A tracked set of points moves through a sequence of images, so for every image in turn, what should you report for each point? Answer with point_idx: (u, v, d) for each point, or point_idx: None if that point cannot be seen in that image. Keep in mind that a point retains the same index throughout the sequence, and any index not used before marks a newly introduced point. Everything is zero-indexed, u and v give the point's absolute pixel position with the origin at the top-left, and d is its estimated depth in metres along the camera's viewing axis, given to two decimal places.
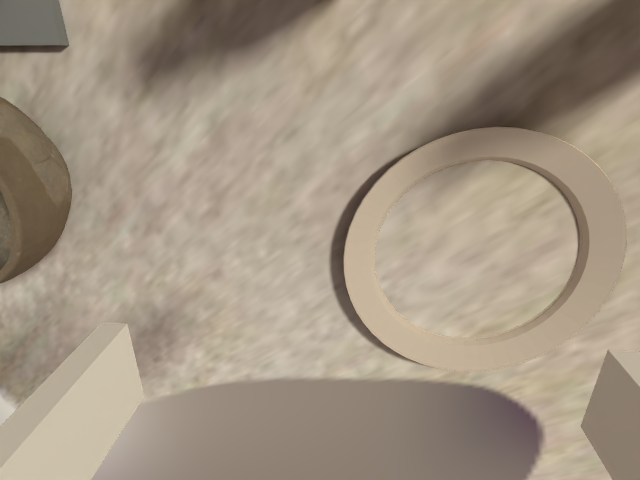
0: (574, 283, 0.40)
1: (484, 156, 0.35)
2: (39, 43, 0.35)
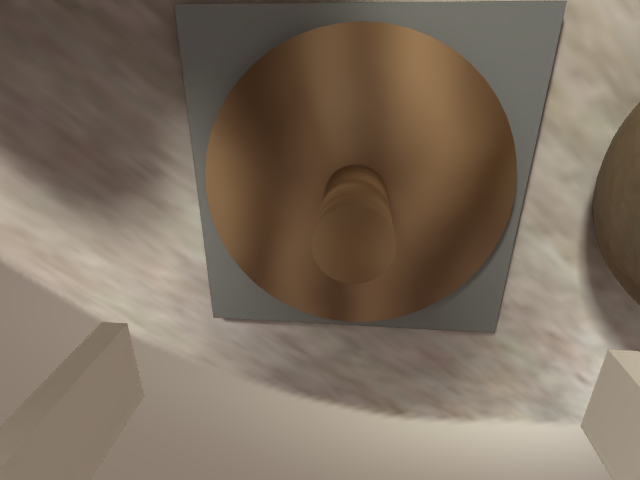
0: None
1: None
2: (555, 40, 0.23)
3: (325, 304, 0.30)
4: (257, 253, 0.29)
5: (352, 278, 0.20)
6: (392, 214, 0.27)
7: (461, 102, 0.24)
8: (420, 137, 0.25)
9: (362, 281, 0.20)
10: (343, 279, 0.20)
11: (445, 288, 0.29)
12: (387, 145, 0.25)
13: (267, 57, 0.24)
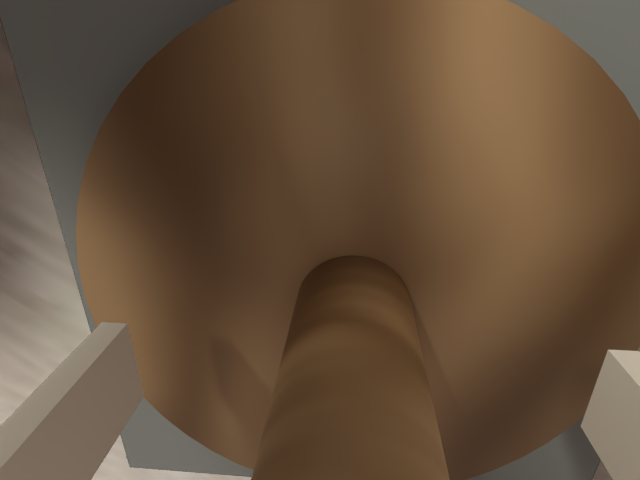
0: None
1: None
2: None
3: None
4: (185, 392, 0.17)
5: None
6: (421, 338, 0.15)
7: (569, 141, 0.12)
8: (480, 207, 0.13)
9: None
10: None
11: (509, 451, 0.17)
12: (415, 222, 0.13)
13: (170, 51, 0.11)
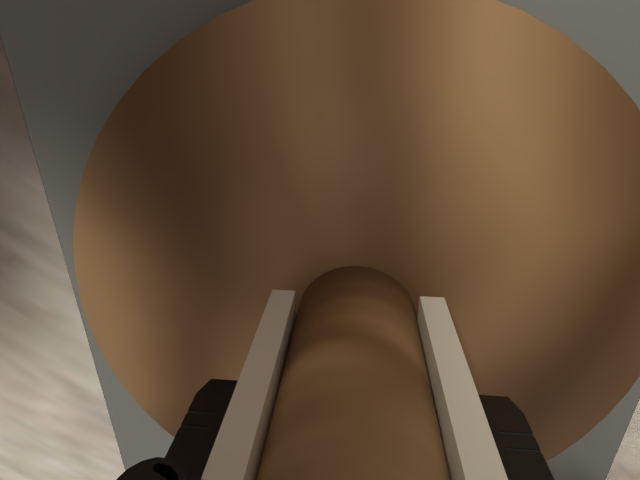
0: None
1: None
2: None
3: None
4: (184, 403, 0.17)
5: None
6: None
7: (577, 151, 0.11)
8: (486, 218, 0.12)
9: None
10: None
11: None
12: (419, 232, 0.13)
13: (169, 59, 0.11)
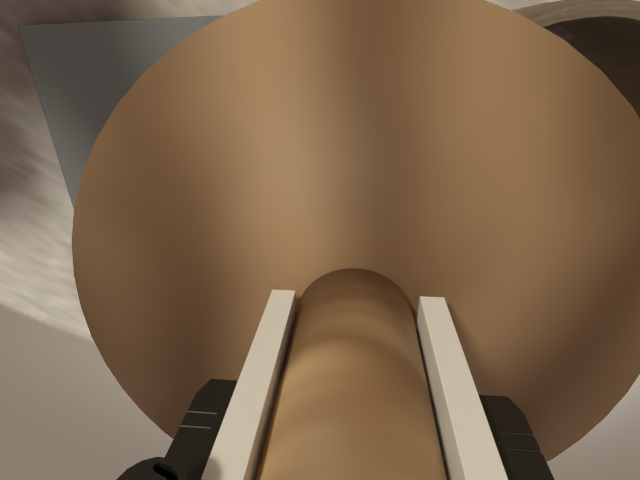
0: None
1: None
2: None
3: None
4: (183, 405, 0.17)
5: None
6: None
7: (574, 154, 0.11)
8: (484, 221, 0.12)
9: None
10: None
11: None
12: (417, 235, 0.13)
13: (167, 62, 0.11)
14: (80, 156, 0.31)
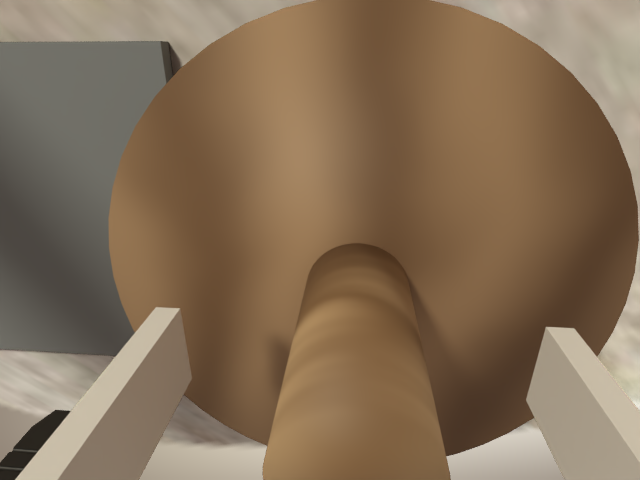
0: None
1: None
2: (163, 79, 0.23)
3: None
4: (201, 368, 0.18)
5: None
6: (417, 320, 0.16)
7: (549, 144, 0.13)
8: (472, 202, 0.14)
9: None
10: None
11: (497, 427, 0.18)
12: (414, 213, 0.15)
13: (201, 60, 0.13)
14: None
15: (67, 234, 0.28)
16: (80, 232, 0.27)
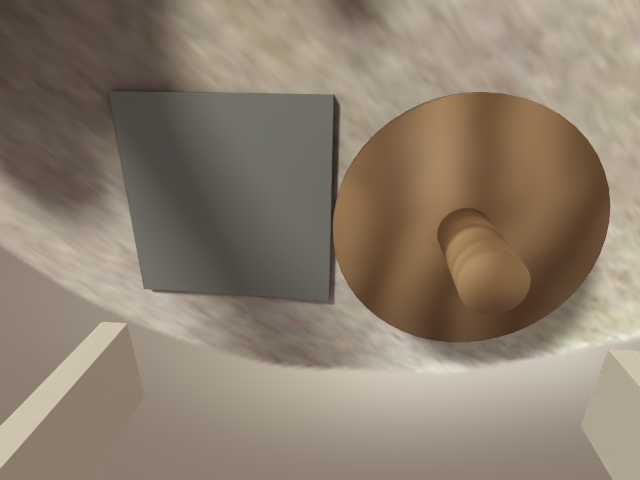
0: None
1: None
2: (331, 117, 0.38)
3: (426, 326, 0.34)
4: (371, 281, 0.33)
5: (489, 310, 0.24)
6: None
7: (565, 158, 0.28)
8: (527, 186, 0.29)
9: (497, 312, 0.24)
10: (481, 310, 0.24)
11: (536, 314, 0.33)
12: (497, 192, 0.29)
13: (401, 120, 0.28)
14: (140, 181, 0.43)
15: (250, 212, 0.43)
16: (259, 210, 0.43)
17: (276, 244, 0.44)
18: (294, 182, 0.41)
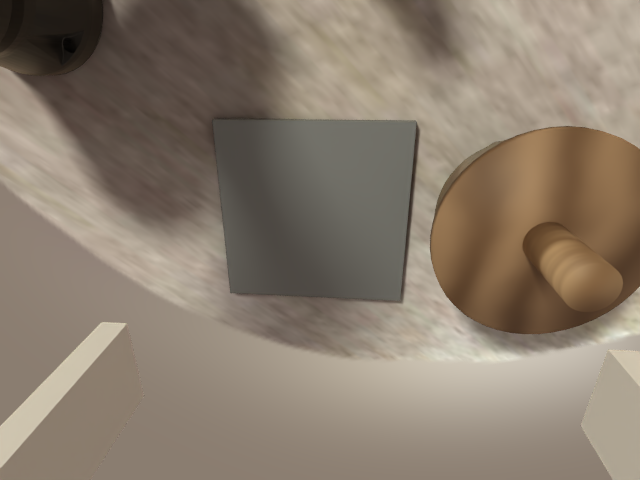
0: None
1: None
2: (413, 140, 0.43)
3: (506, 321, 0.40)
4: (461, 283, 0.39)
5: (586, 308, 0.30)
6: None
7: (636, 180, 0.34)
8: (602, 203, 0.35)
9: (592, 310, 0.30)
10: (579, 309, 0.30)
11: (602, 309, 0.39)
12: (577, 208, 0.35)
13: (500, 150, 0.34)
14: (235, 198, 0.48)
15: (334, 223, 0.48)
16: (342, 222, 0.48)
17: (356, 251, 0.49)
18: (376, 197, 0.46)
